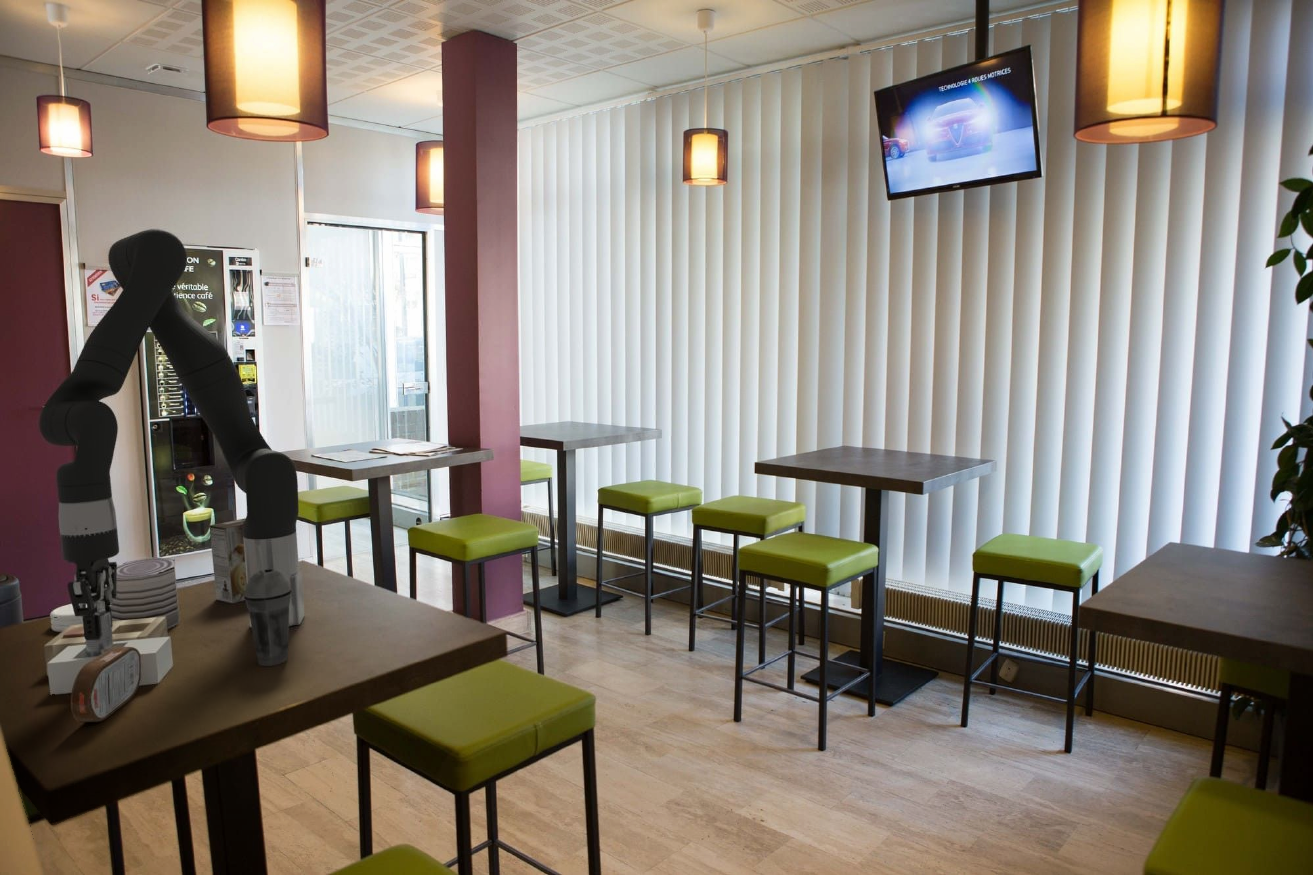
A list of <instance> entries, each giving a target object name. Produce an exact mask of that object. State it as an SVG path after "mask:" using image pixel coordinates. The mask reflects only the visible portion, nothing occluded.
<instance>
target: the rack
mask: <svg viewBox="0 0 1313 875" xmlns="http://www.w3.org/2000/svg"><path fill="white" fill-rule="evenodd" d="M171 637H172V636H168V637H159V638H149V639H139V640H128V641H118V642H113V647H114V646H120V647H134V648H136V649H137V650H138V651H139V653H140V655H141V679H140V683H139V686H146V685H148V686H149V685H156V684H159V683H161V681H162V680H163V678H164V677H165V676H166V675H167V673H168V672H169V671H170V670H171V669H172V668H173V667H174V662H173V652H172V651H173V649H172V640H171ZM95 658H96V657H87V649H86V645H76V646H68V647H67V648H65V649H64V650H63V651H62V652H61V653H59V654H58V655H57V656H56V657H54V658H53V659H52V660H51V661H50V662H48V663H47V667H48V685H49V693H50V695H49V696H52V694H55V695H61V694H63V695H64V694H71V693H72V688H73V684H74V681H75V679H76V677H77V675H78V673H79V671H80V670H81V668H82V667H83V666H84V665H85V664H87V663H88V662H90V661H92V660H93V659H95Z"/></svg>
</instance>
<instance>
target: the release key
mask: <svg viewBox="0 0 1313 875" xmlns="http://www.w3.org/2000/svg"><path fill="white" fill-rule="evenodd" d="M74 637H84V627H75V628H72V629H70V630H69V631H68V632H66V633H65V634H64V635H63V638H74Z"/></svg>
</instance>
